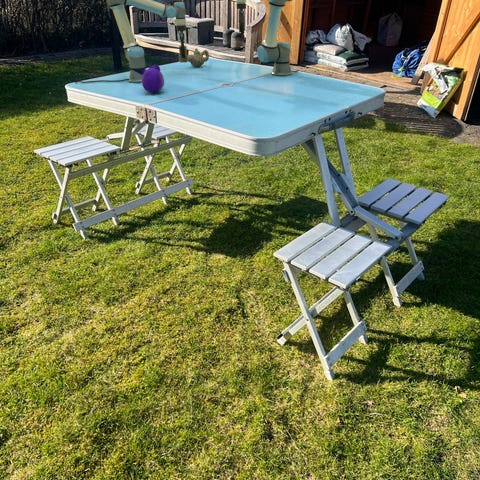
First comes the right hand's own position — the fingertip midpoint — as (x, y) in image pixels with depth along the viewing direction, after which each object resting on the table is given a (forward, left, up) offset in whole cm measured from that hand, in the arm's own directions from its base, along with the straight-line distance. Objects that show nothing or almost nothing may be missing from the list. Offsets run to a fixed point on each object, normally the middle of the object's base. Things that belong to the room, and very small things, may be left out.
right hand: (241, 33), depth 359 cm
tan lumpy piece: (+31, -28, -28) cm, 50 cm away
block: (+49, -1, -19) cm, 52 cm away
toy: (+84, +52, -28) cm, 103 cm away
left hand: (+49, -1, -15) cm, 51 cm away
